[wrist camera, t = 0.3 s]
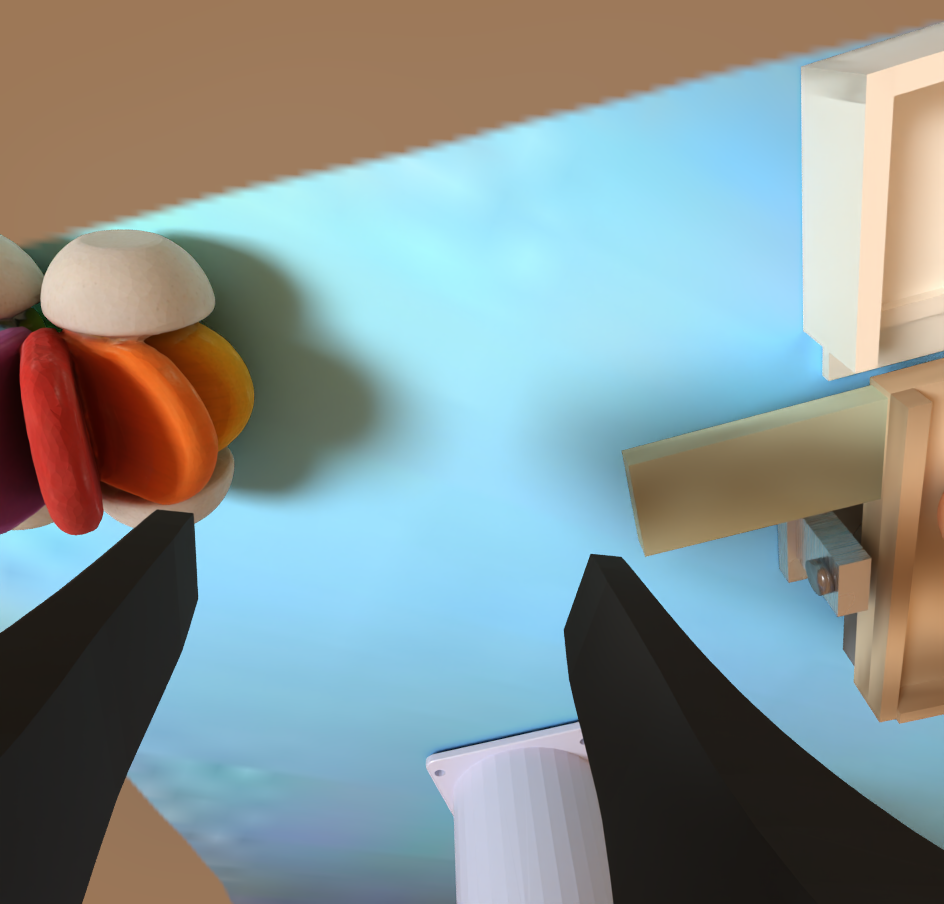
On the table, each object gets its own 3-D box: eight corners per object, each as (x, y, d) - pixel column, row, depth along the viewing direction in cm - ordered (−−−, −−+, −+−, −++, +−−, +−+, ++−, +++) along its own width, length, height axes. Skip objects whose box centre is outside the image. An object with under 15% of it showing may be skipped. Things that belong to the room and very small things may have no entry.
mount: (1004, 514, 25) (1087, 585, 22) (776, 569, 26) (825, 644, 23) (1027, 404, 23) (1125, 467, 20) (772, 468, 24) (826, 539, 20)
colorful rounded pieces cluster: (277, 477, 23) (222, 643, 17) (-23, 470, 22) (-196, 642, 16) (250, 223, 18) (161, 324, 12) (-131, 202, 17) (-430, 298, 11)
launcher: (961, 625, 27) (1023, 697, 24) (662, 692, 28) (688, 768, 25) (1017, 309, 20) (1118, 359, 17) (609, 419, 21) (637, 482, 18)
